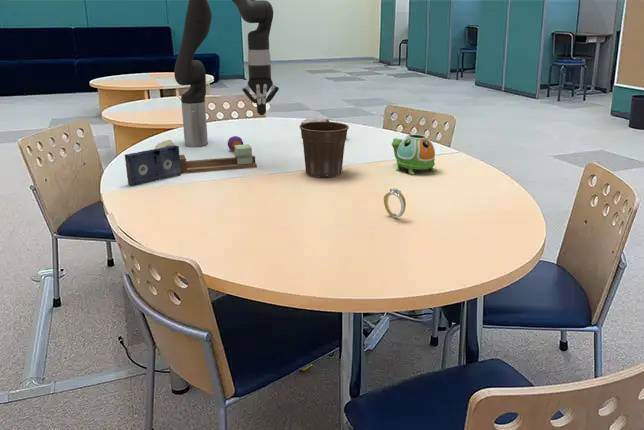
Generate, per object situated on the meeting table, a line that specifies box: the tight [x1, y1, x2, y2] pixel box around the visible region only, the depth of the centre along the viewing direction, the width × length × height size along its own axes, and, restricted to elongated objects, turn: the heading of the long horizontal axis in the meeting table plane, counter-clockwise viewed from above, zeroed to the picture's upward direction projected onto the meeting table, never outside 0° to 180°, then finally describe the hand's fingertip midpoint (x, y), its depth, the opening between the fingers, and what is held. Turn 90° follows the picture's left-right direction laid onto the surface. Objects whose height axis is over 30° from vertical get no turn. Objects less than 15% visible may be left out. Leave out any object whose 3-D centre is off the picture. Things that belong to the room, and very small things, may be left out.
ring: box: [383, 188, 407, 219], centre depth 157 cm, size 7×3×8 cm, turn 34°
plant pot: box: [299, 121, 350, 178], centre depth 198 cm, size 16×16×16 cm
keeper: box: [234, 143, 253, 165], centre depth 208 cm, size 6×5×6 cm
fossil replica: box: [154, 139, 177, 149], centre depth 212 cm, size 12×8×10 cm
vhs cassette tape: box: [124, 144, 182, 187], centre depth 192 cm, size 18×3×10 cm, turn 135°
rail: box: [179, 154, 258, 175], centre depth 206 cm, size 6×26×5 cm, turn 108°
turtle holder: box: [391, 133, 436, 176], centre depth 203 cm, size 12×18×12 cm
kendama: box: [227, 135, 244, 153], centre depth 225 cm, size 6×6×20 cm
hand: (261, 114), depth 206 cm, fingers closed
